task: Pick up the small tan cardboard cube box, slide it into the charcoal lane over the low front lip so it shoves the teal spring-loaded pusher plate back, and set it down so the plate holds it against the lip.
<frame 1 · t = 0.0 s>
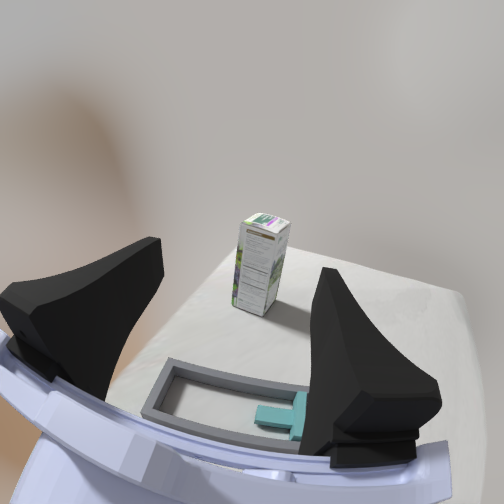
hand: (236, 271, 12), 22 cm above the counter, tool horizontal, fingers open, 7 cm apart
syrup box: (254, 303, 45), on the counter
lane: (241, 415, 26), on the counter
pusher: (279, 415, 25), point 2 cm above the counter, slide at 0.0 cm
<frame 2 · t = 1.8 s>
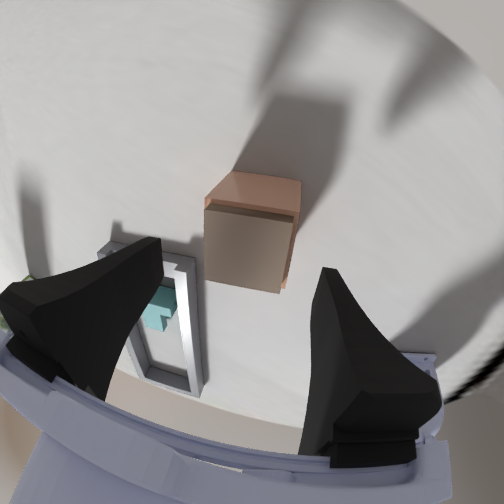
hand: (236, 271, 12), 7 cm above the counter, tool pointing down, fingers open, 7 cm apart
tan cardboard cube box: (262, 207, 18), on the counter
lane: (162, 329, 27), on the counter
pusher: (150, 312, 23), point 2 cm above the counter, slide at 0.0 cm
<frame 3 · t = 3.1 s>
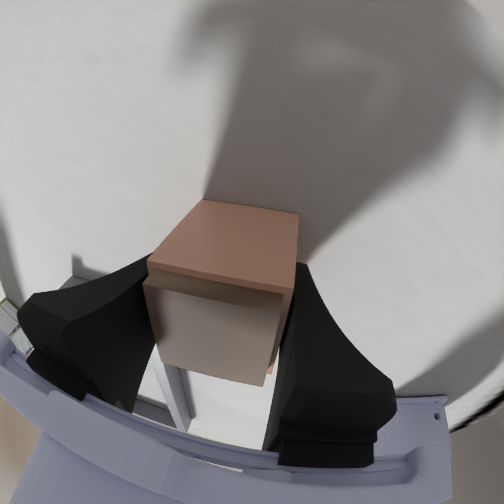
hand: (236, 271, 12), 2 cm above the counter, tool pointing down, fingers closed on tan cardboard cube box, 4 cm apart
tan cardboard cube box: (245, 248, 13), on the counter, touching gripper
syrup box: (22, 317, 26), on the counter
lane: (140, 368, 22), on the counter
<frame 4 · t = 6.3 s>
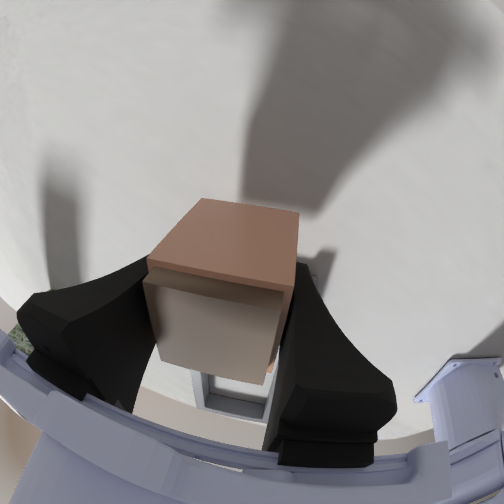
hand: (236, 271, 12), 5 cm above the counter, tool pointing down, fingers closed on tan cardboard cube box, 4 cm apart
tan cardboard cube box: (245, 247, 13), point 3 cm above the counter, touching gripper
syrup box: (70, 312, 26), on the counter
lane: (241, 356, 23), on the counter
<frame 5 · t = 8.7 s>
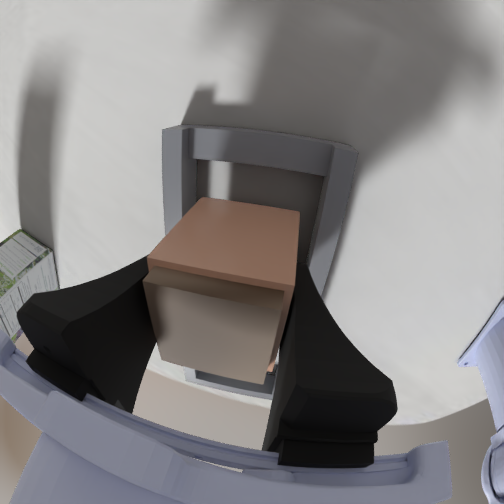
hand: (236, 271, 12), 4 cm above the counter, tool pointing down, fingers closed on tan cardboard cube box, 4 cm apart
tan cardboard cube box: (245, 246, 13), point 2 cm above the counter, touching gripper, pusher
syrup box: (40, 258, 21), on the counter
lane: (245, 293, 17), on the counter
when the fingers open (3 cm above the counter, at t = 9.7 s): tan cardboard cube box drops 1 cm, resting on lane, pusher.
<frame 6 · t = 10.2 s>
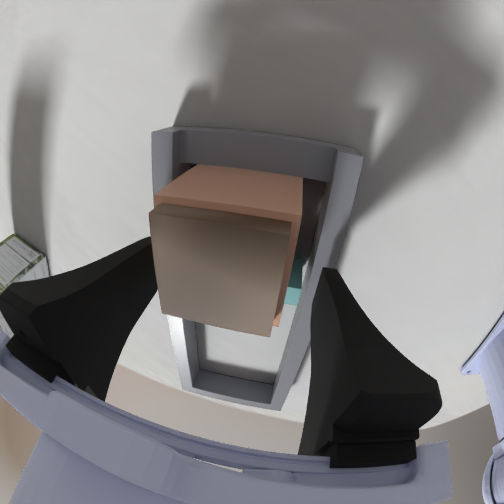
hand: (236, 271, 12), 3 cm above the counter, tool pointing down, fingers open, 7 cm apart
tan cardboard cube box: (249, 207, 13), resting on lane, pusher
syrup box: (34, 263, 20), on the counter
lane: (243, 302, 16), on the counter
pusher: (239, 301, 14), point 1 cm above the counter, slide at 2.5 cm, touching tan cardboard cube box
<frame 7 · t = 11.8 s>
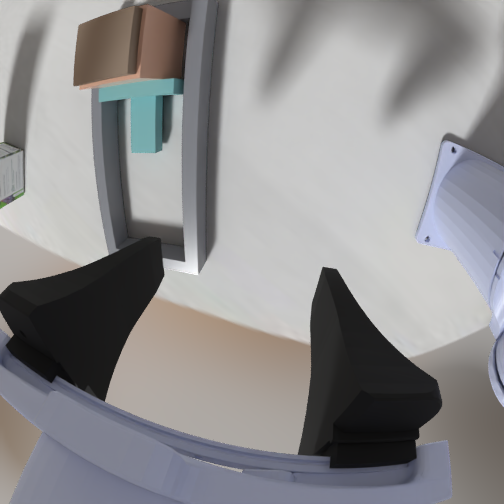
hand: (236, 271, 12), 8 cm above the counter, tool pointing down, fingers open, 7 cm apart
tan cardboard cube box: (154, 54, 14), resting on lane, pusher
syrup box: (14, 165, 21), on the counter
lane: (152, 135, 17), on the counter
pusher: (141, 117, 15), point 1 cm above the counter, slide at 2.5 cm, touching tan cardboard cube box
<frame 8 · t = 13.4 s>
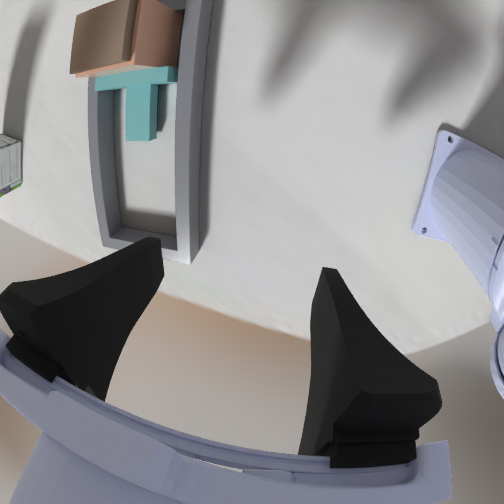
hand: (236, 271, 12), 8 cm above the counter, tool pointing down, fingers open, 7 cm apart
tan cardboard cube box: (150, 45, 14), resting on lane, pusher
syrup box: (12, 156, 20), on the counter
lane: (147, 124, 17), on the counter
pusher: (136, 106, 15), point 2 cm above the counter, slide at 2.5 cm, touching tan cardboard cube box
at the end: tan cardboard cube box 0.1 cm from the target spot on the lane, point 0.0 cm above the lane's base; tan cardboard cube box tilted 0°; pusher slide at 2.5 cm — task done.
